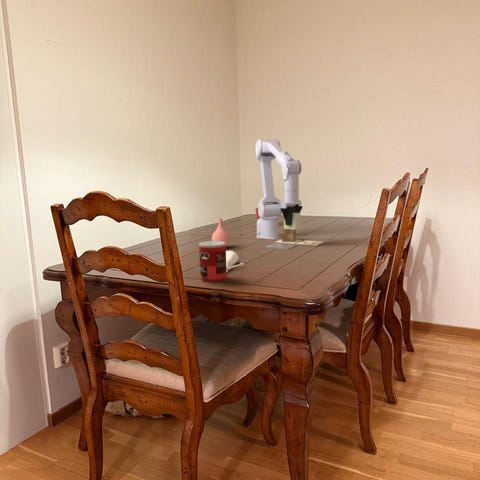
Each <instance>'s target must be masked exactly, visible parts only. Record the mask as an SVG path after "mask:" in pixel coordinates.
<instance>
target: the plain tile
mask: <svg viewBox="0 0 480 480" xmlns="http://www.w3.org/2000/svg"><path fill="white" fill-rule="evenodd" d="M302 241H303V239H296V241H294V242H282V239H279V240H276V241H275V243H288V244H296V243H299V242H302Z"/></svg>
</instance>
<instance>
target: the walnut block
mask: <svg viewBox="0 0 480 480" xmlns="http://www.w3.org/2000/svg"><path fill="white" fill-rule="evenodd" d="M281 236H282V237H281V240H282V242H294V241H296V240H297V229H284V226H281ZM282 242H281V243H282Z"/></svg>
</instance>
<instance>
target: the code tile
mask: <svg viewBox="0 0 480 480" xmlns="http://www.w3.org/2000/svg"><path fill="white" fill-rule="evenodd" d="M323 243H324V241H319V240H318V241H317V240H306V239H305V240H302V241H299V242H297V243H295V244H298V245H306V246H318V245H321V244H323Z"/></svg>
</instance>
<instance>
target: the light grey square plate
mask: <svg viewBox="0 0 480 480" xmlns="http://www.w3.org/2000/svg"><path fill="white" fill-rule="evenodd" d="M298 246H299V244H296V243H294V244H293V243H282V242H274V243H272V244H269V245H265V248H267V249H268V248H269V249H277V250H285V251H286V250H290V249H293V248H296V247H298Z"/></svg>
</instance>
